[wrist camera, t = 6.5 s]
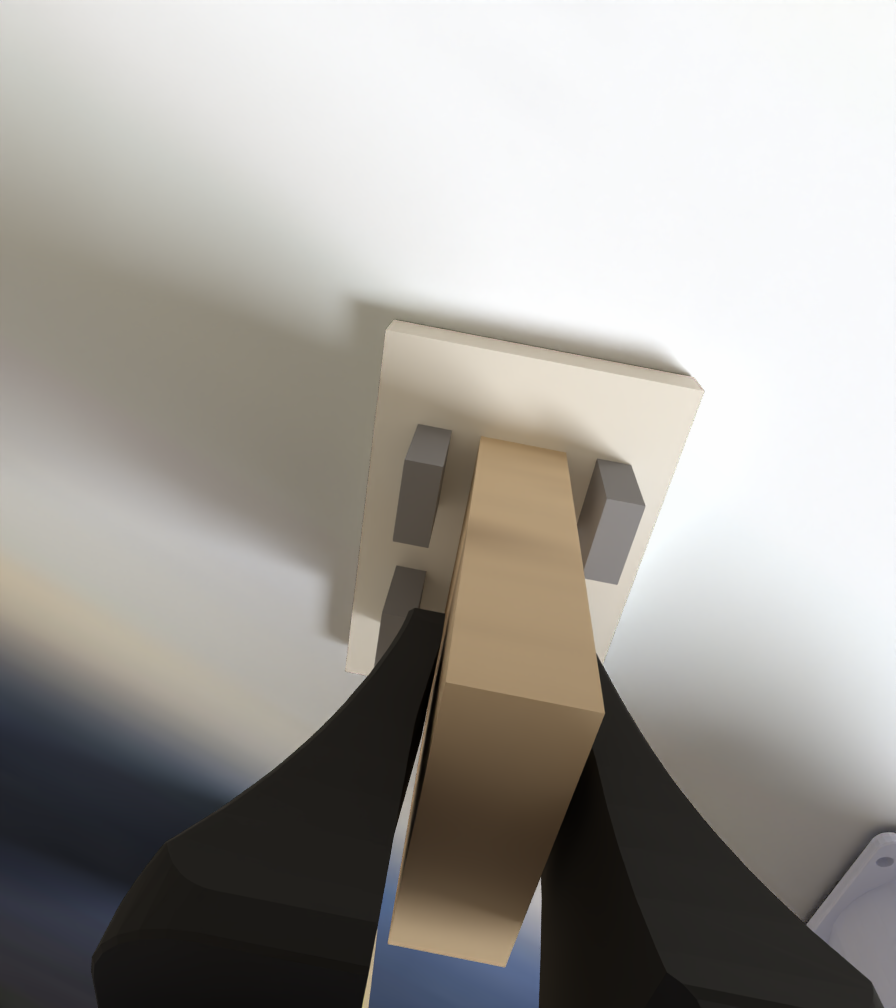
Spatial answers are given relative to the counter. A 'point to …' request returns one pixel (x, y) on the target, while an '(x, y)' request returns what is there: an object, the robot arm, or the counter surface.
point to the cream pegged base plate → (520, 419)
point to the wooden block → (501, 712)
